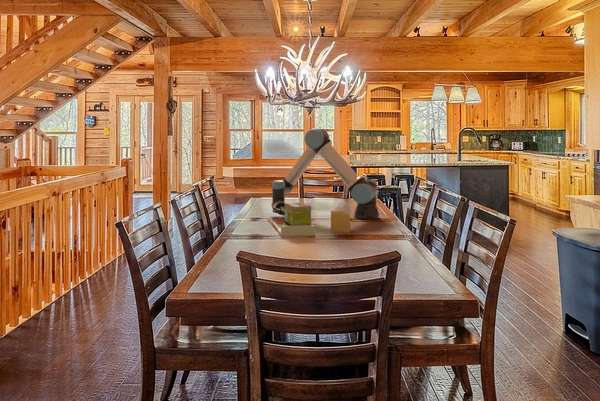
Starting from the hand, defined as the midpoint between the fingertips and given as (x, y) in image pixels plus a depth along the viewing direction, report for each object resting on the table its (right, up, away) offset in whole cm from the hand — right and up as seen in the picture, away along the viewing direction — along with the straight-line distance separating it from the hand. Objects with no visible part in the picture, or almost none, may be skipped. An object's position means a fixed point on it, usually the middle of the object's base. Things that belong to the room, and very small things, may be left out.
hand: (288, 213), depth 285 cm
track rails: (0, -6, +3) cm, 7 cm away
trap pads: (-3, -5, +14) cm, 15 cm away
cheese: (+27, -9, -15) cm, 33 cm away
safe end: (+4, -9, -22) cm, 25 cm away
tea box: (+5, -9, -19) cm, 22 cm away
